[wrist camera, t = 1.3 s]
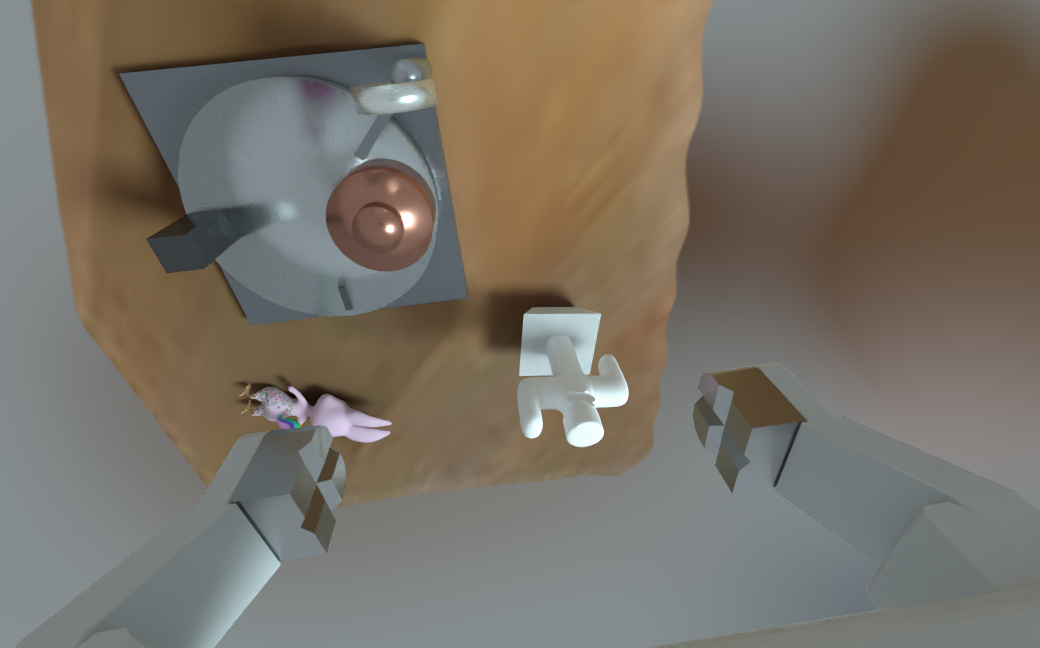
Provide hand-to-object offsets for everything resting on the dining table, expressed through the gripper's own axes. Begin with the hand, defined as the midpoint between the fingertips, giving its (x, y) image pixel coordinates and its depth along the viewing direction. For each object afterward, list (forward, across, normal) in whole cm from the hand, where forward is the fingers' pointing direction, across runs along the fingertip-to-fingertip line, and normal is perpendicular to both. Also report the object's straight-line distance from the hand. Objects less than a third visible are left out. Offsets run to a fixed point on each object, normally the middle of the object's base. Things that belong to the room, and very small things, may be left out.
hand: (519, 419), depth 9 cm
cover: (+26, +7, +3) cm, 28 cm away
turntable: (+28, +13, +3) cm, 31 cm away
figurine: (+30, -5, +18) cm, 35 cm away
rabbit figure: (+30, +20, +24) cm, 44 cm away
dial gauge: (+29, +5, -4) cm, 29 cm away
